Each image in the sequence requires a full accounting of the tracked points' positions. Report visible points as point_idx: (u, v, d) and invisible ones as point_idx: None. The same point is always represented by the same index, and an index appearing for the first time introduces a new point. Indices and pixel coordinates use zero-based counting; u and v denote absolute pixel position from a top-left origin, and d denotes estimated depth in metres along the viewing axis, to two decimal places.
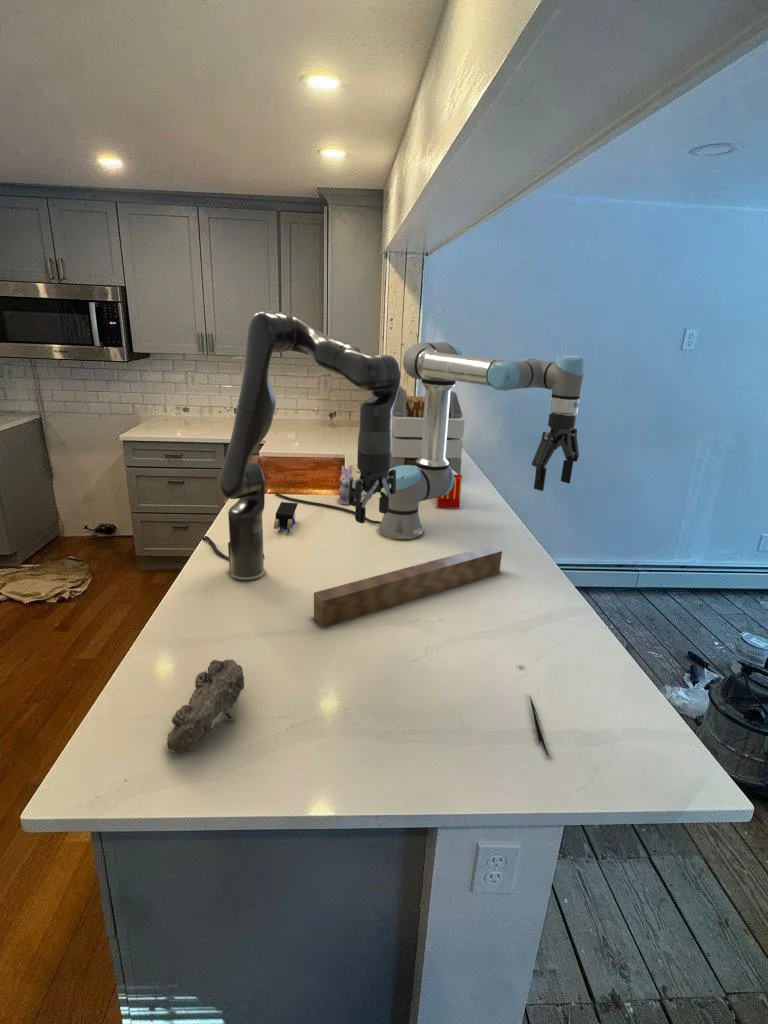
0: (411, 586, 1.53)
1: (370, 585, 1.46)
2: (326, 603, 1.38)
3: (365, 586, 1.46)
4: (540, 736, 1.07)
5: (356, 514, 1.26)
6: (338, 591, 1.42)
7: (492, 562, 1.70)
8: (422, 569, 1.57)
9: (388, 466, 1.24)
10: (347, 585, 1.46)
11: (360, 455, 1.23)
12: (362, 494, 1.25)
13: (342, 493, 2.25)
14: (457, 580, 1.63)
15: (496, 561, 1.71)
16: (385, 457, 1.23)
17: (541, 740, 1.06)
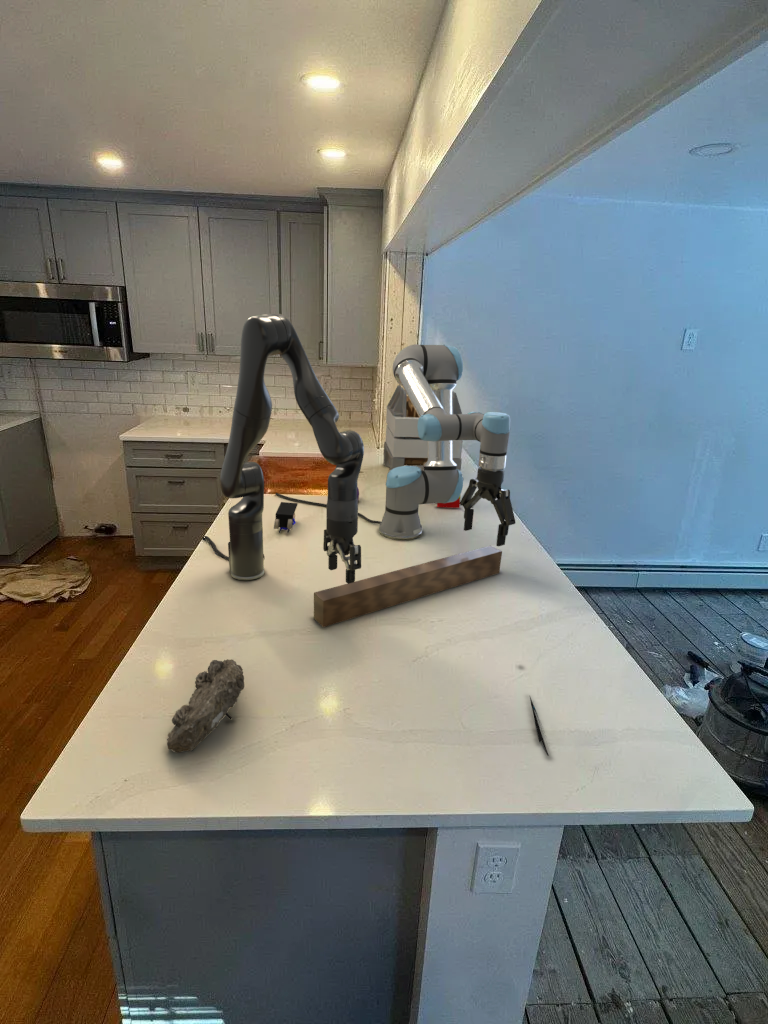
0: (411, 586, 1.53)
1: (370, 585, 1.46)
2: (326, 603, 1.38)
3: (365, 586, 1.46)
4: (540, 736, 1.07)
5: (351, 576, 1.36)
6: (338, 591, 1.42)
7: (492, 562, 1.70)
8: (422, 569, 1.57)
9: None
10: (347, 585, 1.46)
11: (345, 524, 1.33)
12: (350, 557, 1.36)
13: None
14: (457, 580, 1.63)
15: (496, 561, 1.71)
16: None
17: (541, 740, 1.06)
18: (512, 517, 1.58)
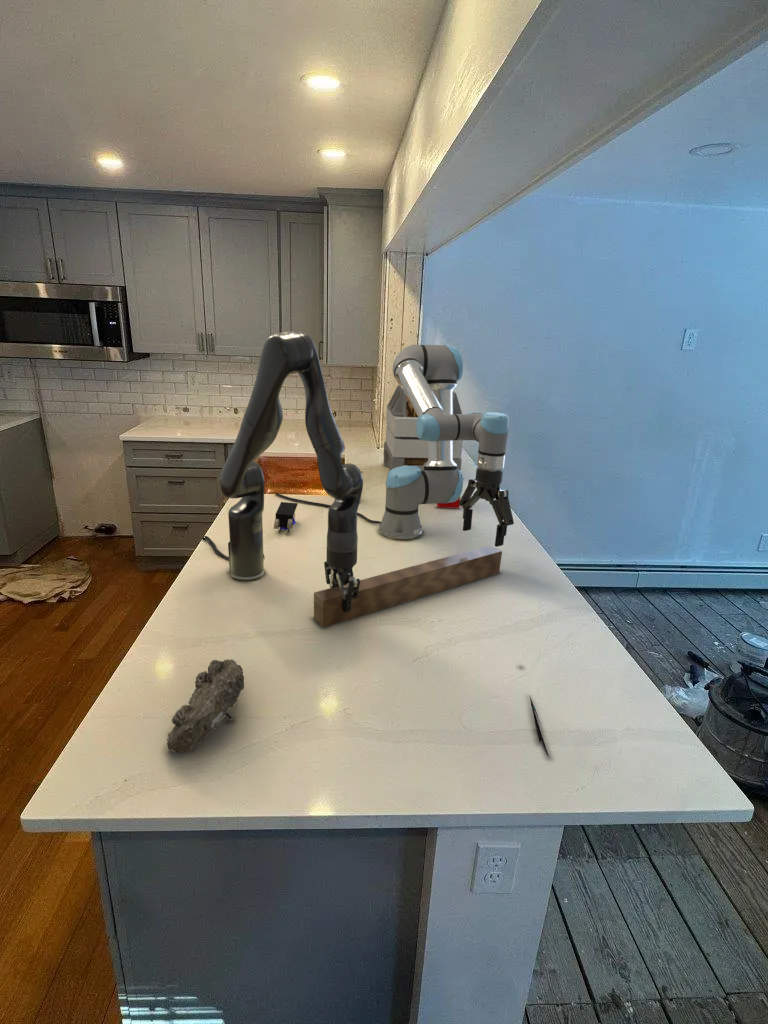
0: (411, 586, 1.53)
1: (370, 585, 1.46)
2: (326, 603, 1.38)
3: (365, 586, 1.46)
4: (540, 736, 1.07)
5: (347, 606, 1.41)
6: (338, 591, 1.42)
7: (492, 562, 1.70)
8: (422, 569, 1.57)
9: None
10: (347, 585, 1.46)
11: (345, 555, 1.36)
12: (347, 588, 1.40)
13: None
14: (457, 580, 1.63)
15: (496, 561, 1.71)
16: None
17: (541, 740, 1.06)
18: (510, 517, 1.57)
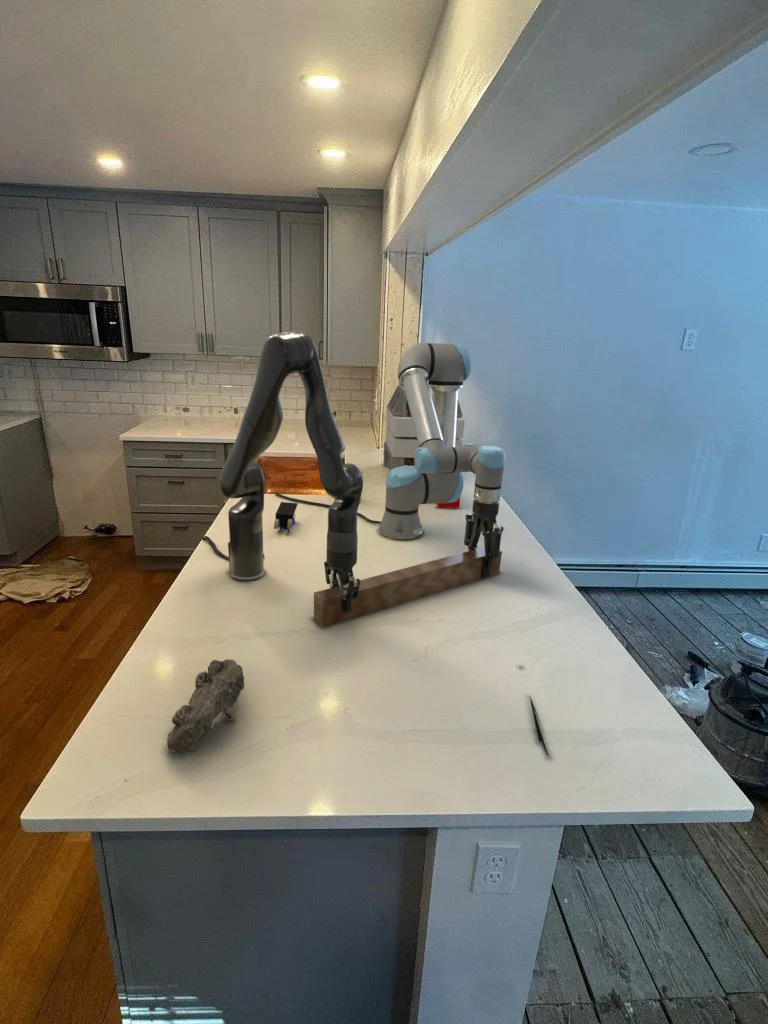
0: (411, 586, 1.53)
1: (370, 585, 1.46)
2: (326, 603, 1.38)
3: (365, 586, 1.46)
4: (540, 736, 1.07)
5: (347, 606, 1.41)
6: (338, 591, 1.42)
7: (492, 562, 1.70)
8: (422, 569, 1.57)
9: None
10: (347, 585, 1.46)
11: (345, 555, 1.36)
12: (347, 588, 1.40)
13: None
14: (456, 580, 1.63)
15: (496, 561, 1.71)
16: None
17: (541, 740, 1.06)
18: (497, 552, 1.64)
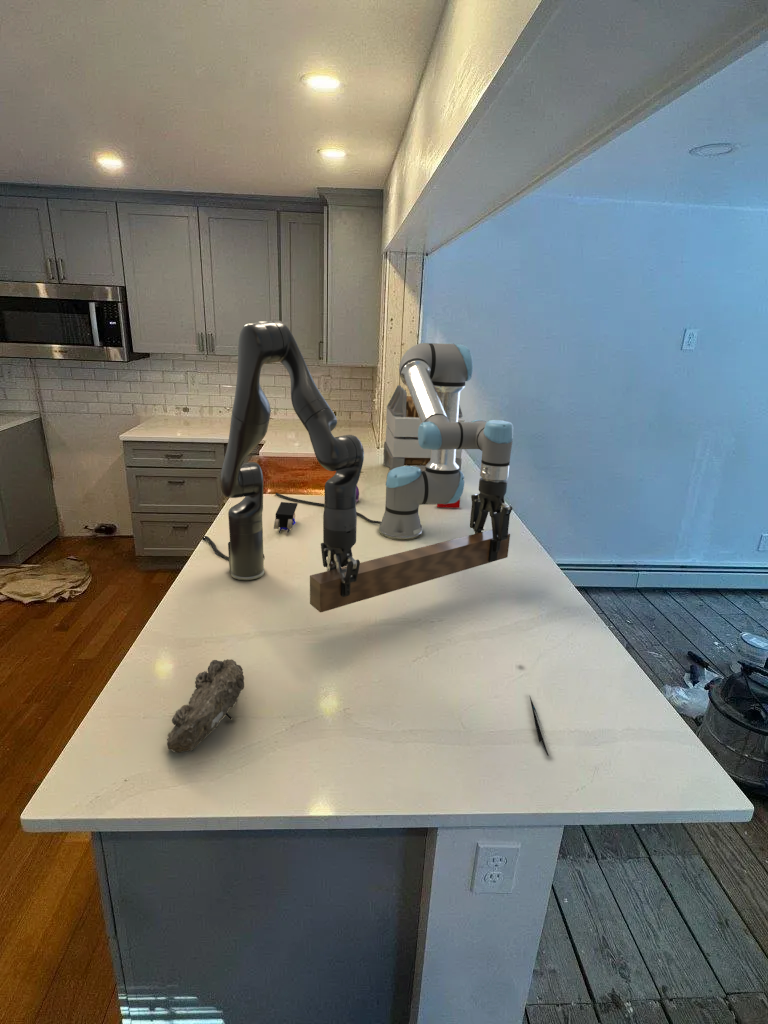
0: (414, 570, 1.43)
1: (371, 568, 1.35)
2: (323, 586, 1.28)
3: (365, 568, 1.35)
4: (540, 736, 1.07)
5: (346, 590, 1.30)
6: (336, 574, 1.32)
7: (500, 546, 1.60)
8: (426, 551, 1.46)
9: None
10: None
11: (343, 533, 1.25)
12: (346, 570, 1.29)
13: None
14: (462, 564, 1.53)
15: (504, 544, 1.61)
16: None
17: (541, 740, 1.06)
18: (505, 534, 1.54)
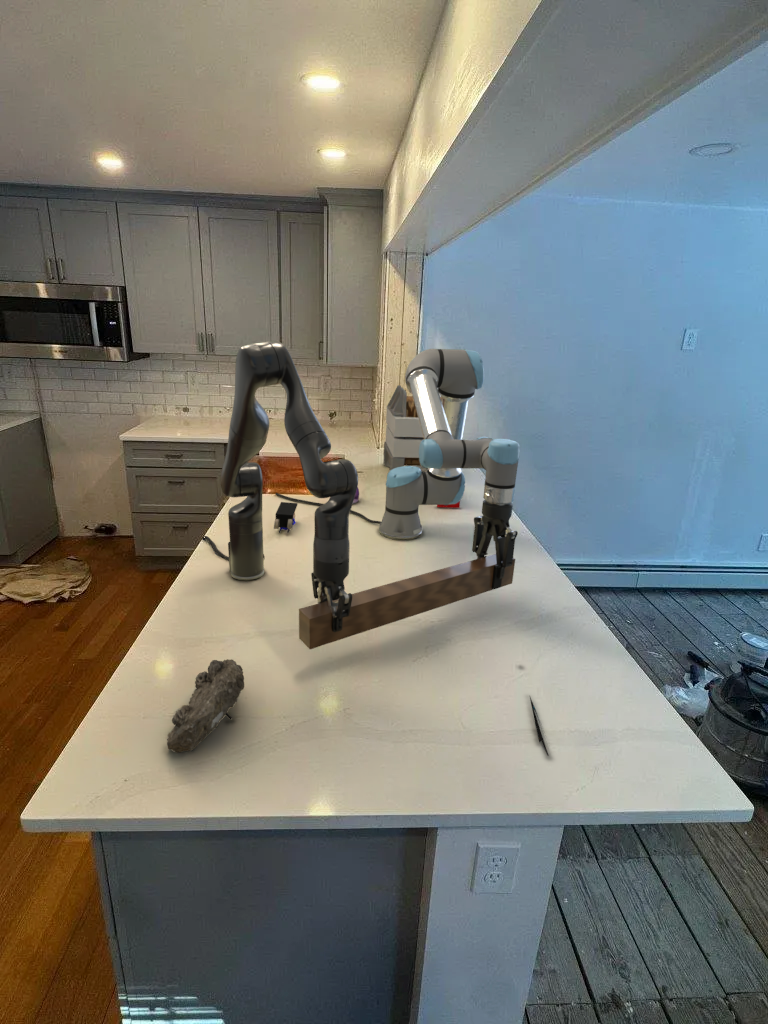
0: (412, 600, 1.33)
1: (365, 600, 1.26)
2: (312, 621, 1.18)
3: (358, 600, 1.25)
4: (540, 736, 1.07)
5: (338, 625, 1.20)
6: (327, 607, 1.22)
7: None
8: (425, 580, 1.37)
9: None
10: None
11: (335, 565, 1.16)
12: (338, 603, 1.20)
13: None
14: (464, 592, 1.43)
15: (509, 570, 1.51)
16: None
17: (541, 740, 1.06)
18: (510, 560, 1.44)
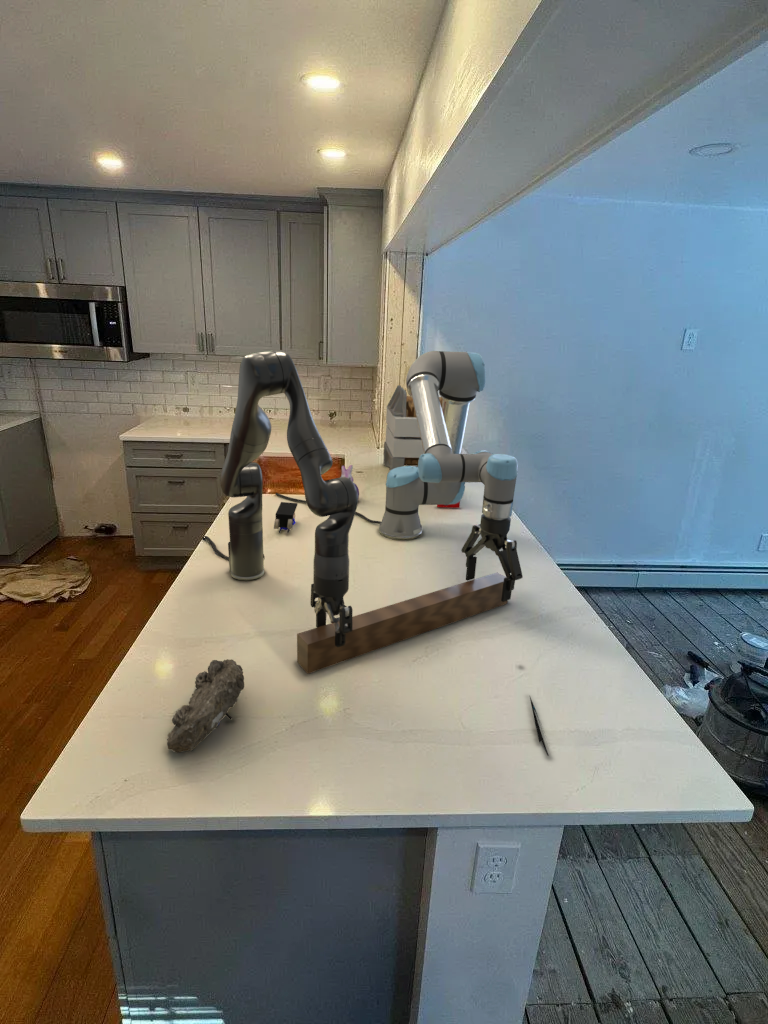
0: (409, 623, 1.35)
1: (362, 624, 1.28)
2: (310, 647, 1.20)
3: (356, 625, 1.28)
4: (540, 736, 1.07)
5: (341, 640, 1.21)
6: (325, 632, 1.24)
7: (499, 592, 1.52)
8: (422, 602, 1.39)
9: None
10: None
11: (335, 582, 1.17)
12: (340, 618, 1.20)
13: None
14: (460, 613, 1.45)
15: None
16: None
17: (541, 740, 1.06)
18: (519, 571, 1.42)
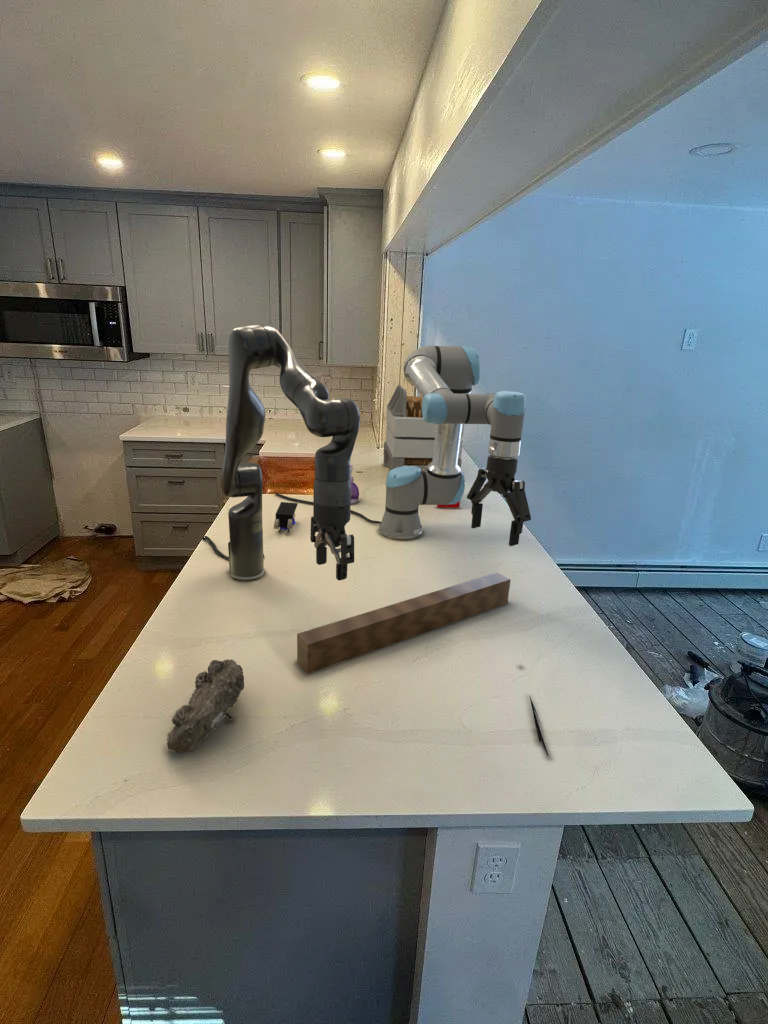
0: (409, 623, 1.35)
1: (362, 624, 1.28)
2: (310, 647, 1.20)
3: (356, 625, 1.28)
4: (540, 736, 1.07)
5: (342, 572, 1.15)
6: (325, 632, 1.24)
7: (499, 592, 1.52)
8: (422, 602, 1.39)
9: None
10: (336, 624, 1.28)
11: (336, 509, 1.11)
12: (341, 549, 1.15)
13: None
14: (460, 613, 1.45)
15: (504, 590, 1.53)
16: None
17: (541, 740, 1.06)
18: (527, 512, 1.37)
